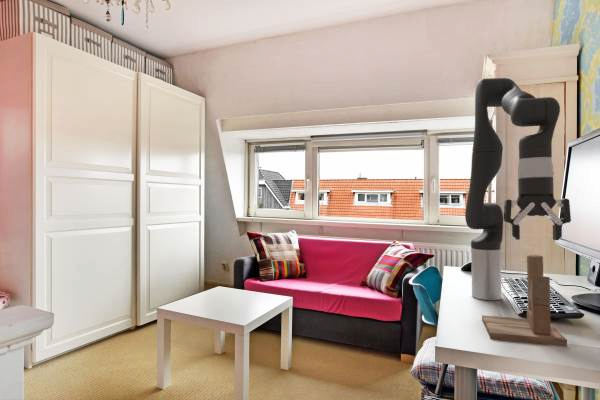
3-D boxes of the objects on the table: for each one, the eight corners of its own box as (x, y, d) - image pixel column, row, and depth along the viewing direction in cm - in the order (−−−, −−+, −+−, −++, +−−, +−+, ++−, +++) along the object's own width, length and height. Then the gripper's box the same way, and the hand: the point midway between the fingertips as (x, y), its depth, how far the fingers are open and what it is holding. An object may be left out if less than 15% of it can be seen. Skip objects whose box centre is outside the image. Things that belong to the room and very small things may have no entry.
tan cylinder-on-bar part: (533, 333, 87) (531, 260, 87) (526, 320, 97) (525, 254, 97) (551, 336, 86) (549, 261, 86) (542, 322, 96) (541, 254, 96)
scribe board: (482, 320, 102) (482, 315, 102) (547, 326, 97) (547, 320, 97) (490, 338, 89) (490, 332, 89) (567, 346, 83) (567, 339, 83)
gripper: (563, 176, 93) (563, 238, 93) (501, 178, 97) (501, 237, 97) (574, 174, 85) (575, 242, 86) (506, 176, 90) (507, 240, 90)
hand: (536, 239), depth 91 cm, fingers open, 8 cm apart
